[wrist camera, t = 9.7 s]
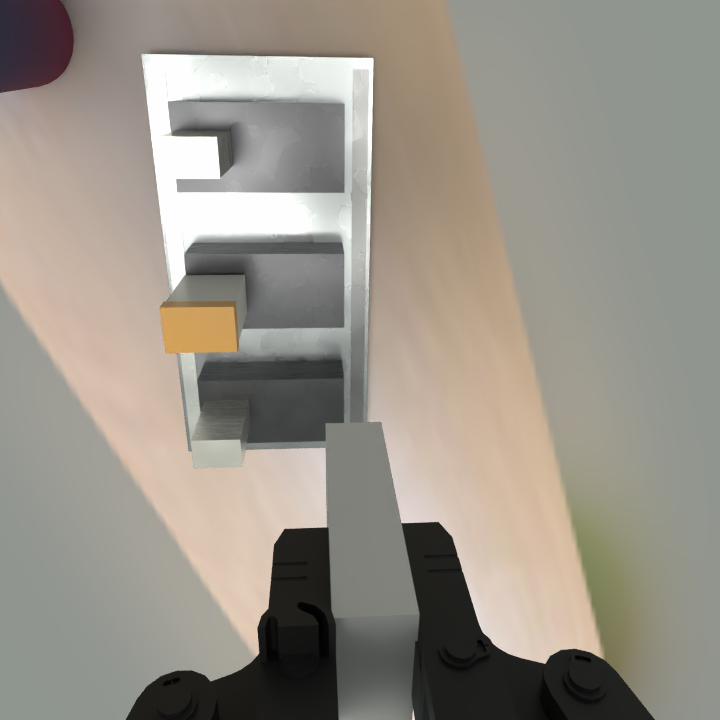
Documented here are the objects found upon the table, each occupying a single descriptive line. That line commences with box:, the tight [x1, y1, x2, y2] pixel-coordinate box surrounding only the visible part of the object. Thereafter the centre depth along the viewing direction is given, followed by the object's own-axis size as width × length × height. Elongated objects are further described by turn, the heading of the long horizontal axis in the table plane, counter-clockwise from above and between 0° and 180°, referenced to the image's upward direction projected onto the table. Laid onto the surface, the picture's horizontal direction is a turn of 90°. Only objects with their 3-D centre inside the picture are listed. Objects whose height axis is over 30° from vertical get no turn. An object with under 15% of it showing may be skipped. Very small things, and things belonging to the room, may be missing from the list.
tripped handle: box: [160, 275, 247, 353], centre depth 29 cm, size 2×3×5 cm
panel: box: [142, 54, 373, 468], centre depth 31 cm, size 22×11×8 cm, turn 179°
